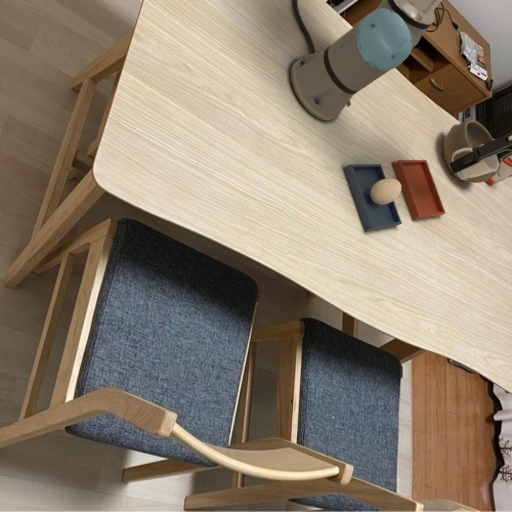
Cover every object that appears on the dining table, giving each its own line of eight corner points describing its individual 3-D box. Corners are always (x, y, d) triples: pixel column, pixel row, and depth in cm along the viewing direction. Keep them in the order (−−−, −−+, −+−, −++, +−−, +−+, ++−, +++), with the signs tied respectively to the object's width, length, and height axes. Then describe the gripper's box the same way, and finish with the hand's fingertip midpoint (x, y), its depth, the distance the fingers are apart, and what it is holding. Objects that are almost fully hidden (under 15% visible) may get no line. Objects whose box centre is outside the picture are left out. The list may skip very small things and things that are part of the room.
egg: (376, 188, 135) (403, 174, 129) (382, 209, 133) (410, 196, 128) (361, 185, 131) (389, 171, 125) (367, 208, 130) (395, 194, 124)
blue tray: (343, 168, 130) (350, 164, 128) (374, 167, 138) (381, 164, 136) (364, 231, 127) (372, 227, 126) (394, 226, 136) (402, 223, 134)
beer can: (486, 186, 175) (537, 164, 164) (478, 167, 176) (528, 144, 165) (494, 184, 180) (544, 162, 168) (486, 165, 180) (536, 143, 169)
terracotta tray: (392, 163, 144) (399, 160, 142) (419, 163, 153) (426, 159, 152) (412, 220, 142) (419, 217, 140) (439, 216, 151) (445, 213, 149)
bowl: (432, 124, 165) (463, 107, 158) (467, 149, 175) (497, 134, 168) (437, 175, 158) (470, 159, 150) (474, 198, 167) (506, 184, 160)
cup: (470, 189, 140) (499, 176, 133) (442, 170, 136) (470, 155, 129) (471, 167, 143) (499, 152, 137) (443, 147, 139) (471, 132, 133)
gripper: (543, 138, 115) (445, 183, 131) (577, 140, 129) (484, 181, 145) (529, 104, 116) (433, 153, 132) (564, 110, 130) (474, 153, 146)
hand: (460, 168), depth 139 cm, fingers closed on cup, 8 cm apart
